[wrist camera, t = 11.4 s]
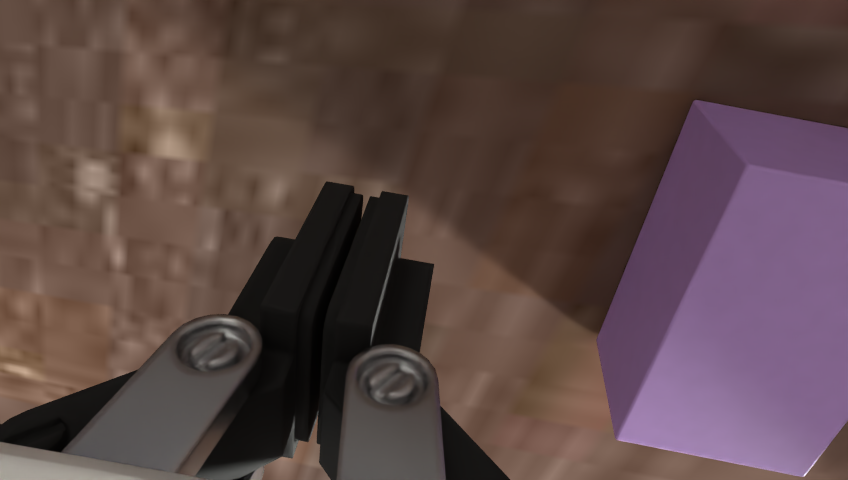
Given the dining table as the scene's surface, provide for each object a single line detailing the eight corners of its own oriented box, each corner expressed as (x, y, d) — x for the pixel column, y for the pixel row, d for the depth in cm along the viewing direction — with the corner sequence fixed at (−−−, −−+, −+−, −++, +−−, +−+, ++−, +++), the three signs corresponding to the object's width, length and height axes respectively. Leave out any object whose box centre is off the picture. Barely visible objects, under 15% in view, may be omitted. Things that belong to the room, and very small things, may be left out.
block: (693, 98, 15) (747, 164, 11) (894, 136, 15) (1009, 214, 11) (595, 340, 19) (614, 440, 16) (751, 370, 19) (805, 478, 16)
